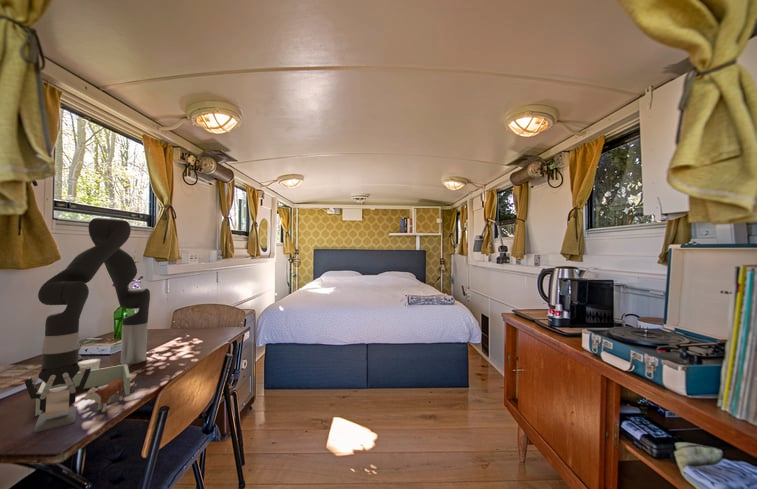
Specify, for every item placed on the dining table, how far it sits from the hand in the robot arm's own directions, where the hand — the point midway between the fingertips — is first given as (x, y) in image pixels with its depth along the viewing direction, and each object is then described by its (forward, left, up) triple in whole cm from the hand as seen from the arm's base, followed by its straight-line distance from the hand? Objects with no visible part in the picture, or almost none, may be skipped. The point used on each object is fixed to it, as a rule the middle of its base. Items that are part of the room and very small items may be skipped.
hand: (57, 407), depth 90 cm
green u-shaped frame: (-16, +6, -3) cm, 17 cm away
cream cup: (-35, +6, -4) cm, 36 cm away
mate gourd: (-44, +1, -4) cm, 44 cm away
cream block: (0, 0, -1) cm, 1 cm away
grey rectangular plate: (0, 0, -3) cm, 3 cm away
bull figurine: (0, +11, -4) cm, 11 cm away
